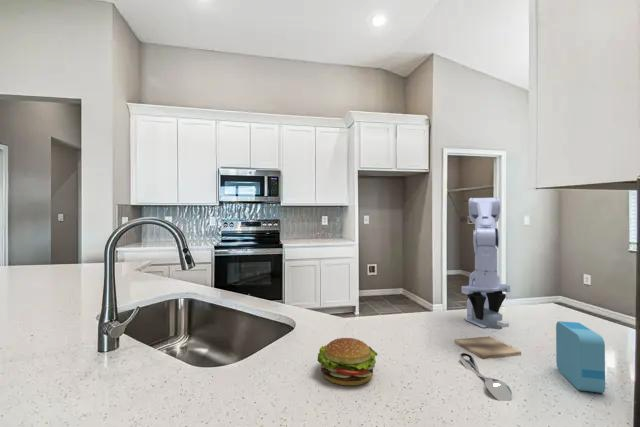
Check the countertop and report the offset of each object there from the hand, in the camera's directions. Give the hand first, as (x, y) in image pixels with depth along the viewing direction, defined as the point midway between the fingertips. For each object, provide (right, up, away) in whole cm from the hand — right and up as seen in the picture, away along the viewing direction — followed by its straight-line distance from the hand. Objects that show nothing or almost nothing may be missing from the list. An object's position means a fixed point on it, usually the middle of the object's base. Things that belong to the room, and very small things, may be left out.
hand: (486, 318), depth 94 cm
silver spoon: (-10, -9, -17) cm, 22 cm away
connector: (0, -1, -1) cm, 2 cm away
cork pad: (0, -8, 0) cm, 8 cm away
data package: (+12, -8, -19) cm, 24 cm away
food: (-41, -8, -16) cm, 44 cm away
